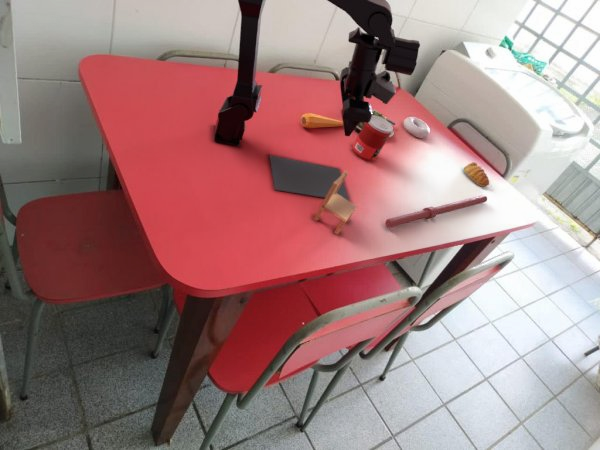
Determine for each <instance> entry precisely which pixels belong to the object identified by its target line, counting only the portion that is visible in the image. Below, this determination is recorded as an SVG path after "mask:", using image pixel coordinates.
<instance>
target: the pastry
mask: <svg viewBox="0 0 600 450" xmlns="http://www.w3.org/2000/svg"><path fill="white" fill-rule="evenodd" d="M463 171H464V174H466V175H467V177H468V178H469V180H471V181H472V182H473V183H475V184H476V185H477V186H480V187H483V188H485V187H488V186H489V185H490V180H489V177H488V175H487V173H486V172H485V169H484V168H482V166H481V165H479V164H478V163H477V162H475V161H472V162H469V163H468V164H466V166H464V167H463Z"/></svg>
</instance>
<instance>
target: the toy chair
mask: <svg viewBox="0 0 600 450" xmlns="http://www.w3.org/2000/svg"><path fill="white" fill-rule="evenodd" d="M348 174H349V171H347V170H344V171H343V172H342V174H341V176H340V177H339V178H338V179H337V180H336V181H335V182H334V183H333V185H332V187H331V189H330V190H329V192H328V194H327V196H326V198H324V200H323V201H322V203H321V205H320V207H319V208H318V211H317V212H316V214H315V216H314V217H313V220H315V221H316V222H318V221H319V219H320V218H321V216H322V214H323V212H324V210H325V211H327V212H329V213H330V214H332V215H333V216H335V217H336V218H338V219H339V220H341V221H340V223H339V224H338V226H337V227H336V229H335V230H334V234H336V235H339V234H340V232H341V230H342V229H343V227H344V226H345V224H346V223H348V222H349V220H350V218H351V217H352V215H353V214H354V212H355V211H356V209H357V205H355V203H352V202H351V201H350V200H349V201H350V202H349V201H348V200H346V199H345V198H343V197H342V196H340V195H339V194H337V192H338V190H339V188H340V186H341V184H342V183H344V181H345V179H346V178H347V176H348Z"/></svg>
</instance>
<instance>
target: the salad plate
mask: <svg viewBox="0 0 600 450" xmlns="http://www.w3.org/2000/svg"><path fill="white" fill-rule="evenodd" d="M371 109H372V115H376V116H379V117H382V118H384V119H385V120H387V121H388V122H389V123H390V124H391V125H392V126H396V122H395V121H393V120H391V119H389V118H387V116H384V115H383V113H380V112H379V111H377V110H376V109H373V108H371ZM364 124H365V122H360V123H359V124H358V125H357V127H356V128H355V129H354V131H355V132H356V133H358V134H359V133H360V131H361V129H362V127H363V126H364ZM394 133H395V132H394V131H392V133H391V134H390V136H389V138H392V137H393V136H395V135H394Z"/></svg>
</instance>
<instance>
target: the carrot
mask: <svg viewBox="0 0 600 450" xmlns="http://www.w3.org/2000/svg"><path fill="white" fill-rule="evenodd" d="M300 124H301V126H302V127H303V128H305V129H316V128H319V129H320V128H332V127H344V126H343V121H341V120H338V119H335V118H330V117H328V116H323V115H319V114H316V113H313V112H308V113H304V114H302V116H301V118H300Z"/></svg>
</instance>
